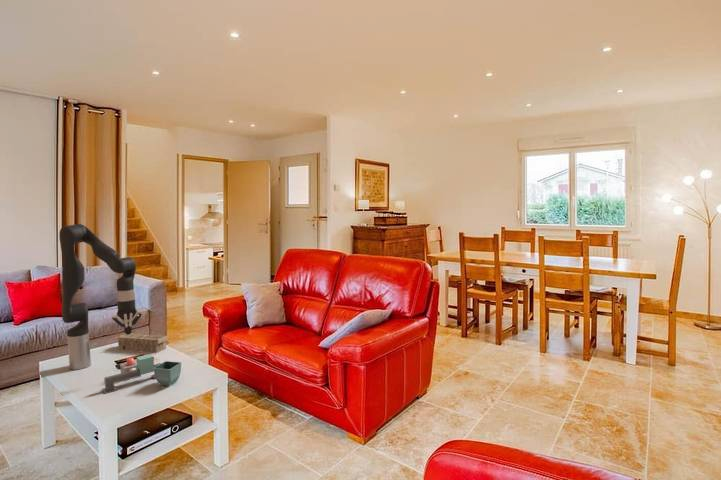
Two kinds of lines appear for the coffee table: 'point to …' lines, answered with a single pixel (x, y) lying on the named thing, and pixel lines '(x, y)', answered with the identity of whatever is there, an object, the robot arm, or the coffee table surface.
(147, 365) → the carriage
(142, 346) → the block tower
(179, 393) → the coffee table surface
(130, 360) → the button
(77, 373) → the coffee table surface
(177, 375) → the flower pot
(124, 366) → the cabinet
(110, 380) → the handrail
